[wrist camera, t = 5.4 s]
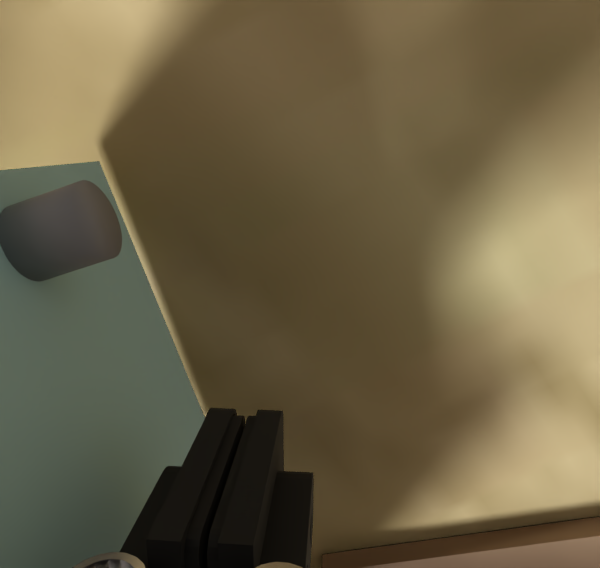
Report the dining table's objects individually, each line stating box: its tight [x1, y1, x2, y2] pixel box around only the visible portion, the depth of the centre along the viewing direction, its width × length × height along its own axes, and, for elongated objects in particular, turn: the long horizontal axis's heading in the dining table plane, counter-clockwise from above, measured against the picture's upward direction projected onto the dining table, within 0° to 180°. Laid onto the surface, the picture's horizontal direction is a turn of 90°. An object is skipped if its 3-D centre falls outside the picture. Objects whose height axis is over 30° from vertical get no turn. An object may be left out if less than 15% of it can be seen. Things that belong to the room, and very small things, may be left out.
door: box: [0, 161, 205, 568], centre depth 12 cm, size 3×14×8 cm, turn 18°
